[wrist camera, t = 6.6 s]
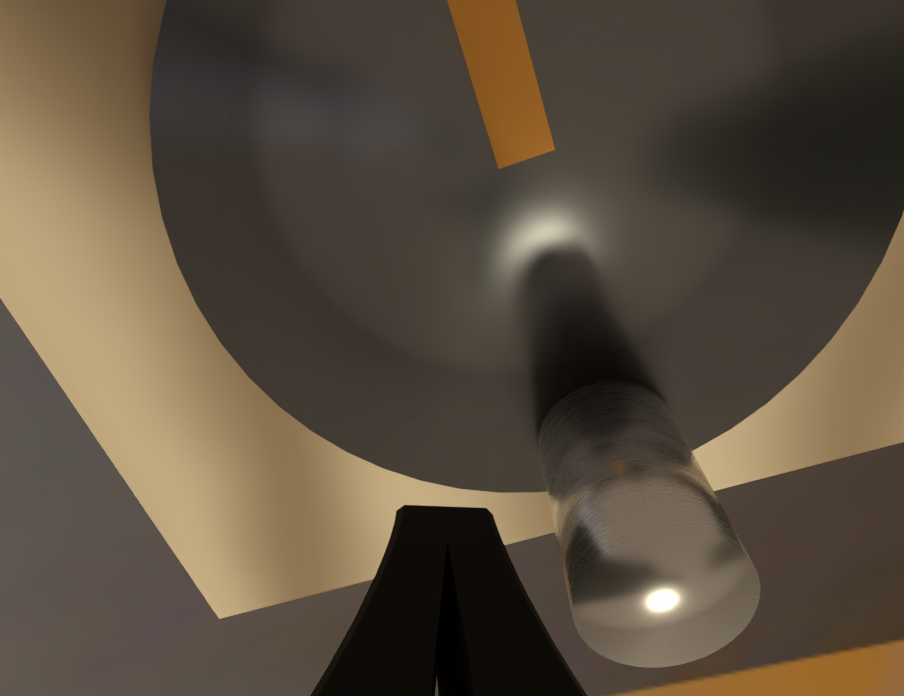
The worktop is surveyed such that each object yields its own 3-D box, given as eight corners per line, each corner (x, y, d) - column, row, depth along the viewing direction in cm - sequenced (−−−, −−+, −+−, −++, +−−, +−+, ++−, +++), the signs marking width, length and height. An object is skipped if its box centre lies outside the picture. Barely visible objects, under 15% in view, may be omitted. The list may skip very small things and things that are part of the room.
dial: (907, 382, 14) (1120, 563, 10) (345, 536, 16) (307, 750, 11) (869, -448, 9) (1318, -904, 4) (18, -80, 10) (-302, -131, 6)
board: (232, 581, 18) (215, 628, 17) (-224, -122, 11) (-314, -137, 10) (1056, 362, 15) (1113, 398, 14) (1137, -743, 8) (1268, -881, 7)
